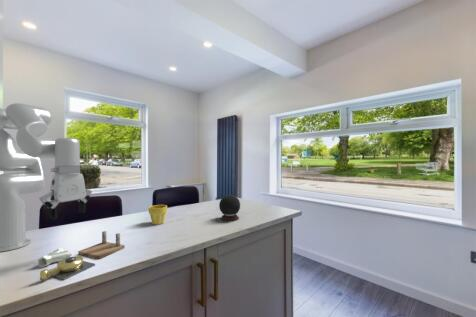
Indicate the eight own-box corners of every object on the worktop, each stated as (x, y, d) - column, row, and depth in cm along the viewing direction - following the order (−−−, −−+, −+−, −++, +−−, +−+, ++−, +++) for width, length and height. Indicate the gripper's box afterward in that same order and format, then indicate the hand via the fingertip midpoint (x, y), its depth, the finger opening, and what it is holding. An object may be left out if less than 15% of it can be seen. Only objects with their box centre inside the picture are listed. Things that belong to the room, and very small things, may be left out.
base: (44, 274, 71) (44, 272, 71) (76, 260, 81) (76, 259, 81) (63, 280, 68) (63, 278, 68) (95, 265, 77) (95, 263, 77)
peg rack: (78, 254, 86) (78, 238, 86) (104, 244, 97) (104, 230, 97) (99, 259, 82) (99, 242, 82) (124, 248, 92) (124, 233, 92)
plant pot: (145, 223, 129) (145, 206, 129) (162, 219, 136) (162, 203, 136) (152, 227, 121) (152, 209, 121) (170, 223, 128) (170, 206, 128)
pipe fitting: (73, 258, 84) (55, 257, 84) (74, 248, 84) (56, 247, 84) (56, 268, 76) (37, 267, 76) (57, 257, 76) (37, 256, 76)
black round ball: (239, 215, 144) (239, 193, 144) (241, 221, 131) (241, 196, 131) (219, 216, 143) (219, 193, 143) (219, 222, 130) (218, 196, 130)
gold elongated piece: (33, 278, 68) (33, 268, 68) (74, 261, 79) (74, 252, 79) (47, 282, 65) (47, 272, 65) (87, 264, 76) (87, 255, 76)
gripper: (46, 172, 73) (47, 223, 73) (96, 169, 89) (97, 211, 89) (33, 172, 76) (34, 221, 76) (84, 169, 92) (85, 210, 92)
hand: (68, 215), depth 83 cm, fingers open, 9 cm apart
